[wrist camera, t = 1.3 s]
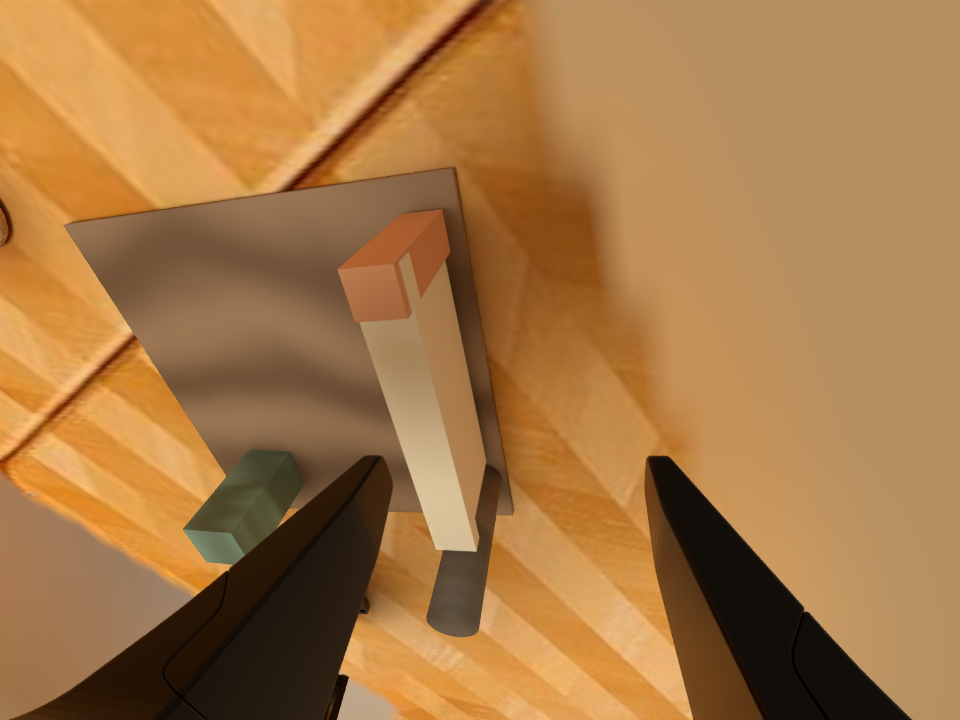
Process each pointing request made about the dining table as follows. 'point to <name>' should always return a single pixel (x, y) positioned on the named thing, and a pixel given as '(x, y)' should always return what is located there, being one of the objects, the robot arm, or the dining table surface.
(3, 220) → the sprinkles bottle
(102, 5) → the dining table surface
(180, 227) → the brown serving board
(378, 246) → the orange and cream block
